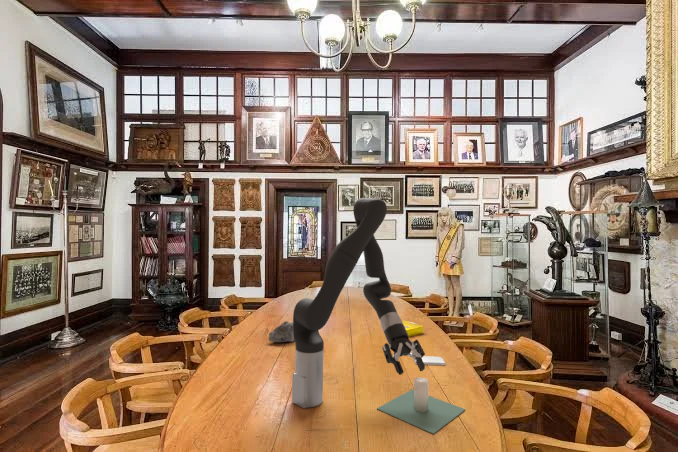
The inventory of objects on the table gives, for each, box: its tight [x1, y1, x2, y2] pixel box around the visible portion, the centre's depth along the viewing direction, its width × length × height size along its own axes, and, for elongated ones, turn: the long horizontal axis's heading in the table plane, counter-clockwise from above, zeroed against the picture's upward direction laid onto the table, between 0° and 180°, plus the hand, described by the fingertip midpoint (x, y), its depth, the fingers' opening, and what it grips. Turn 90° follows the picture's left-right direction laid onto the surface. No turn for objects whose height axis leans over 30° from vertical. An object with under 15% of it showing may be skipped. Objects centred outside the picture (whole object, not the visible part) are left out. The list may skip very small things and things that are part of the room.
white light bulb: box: [413, 377, 430, 412], centre depth 119 cm, size 4×4×9 cm
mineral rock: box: [268, 320, 295, 343], centre depth 186 cm, size 13×11×10 cm
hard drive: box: [412, 355, 446, 366], centre depth 163 cm, size 2×8×12 cm
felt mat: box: [376, 389, 466, 435], centre depth 119 cm, size 20×20×1 cm
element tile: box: [402, 320, 424, 338], centre depth 208 cm, size 15×15×5 cm
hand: (412, 371), depth 123 cm, fingers open, 8 cm apart
